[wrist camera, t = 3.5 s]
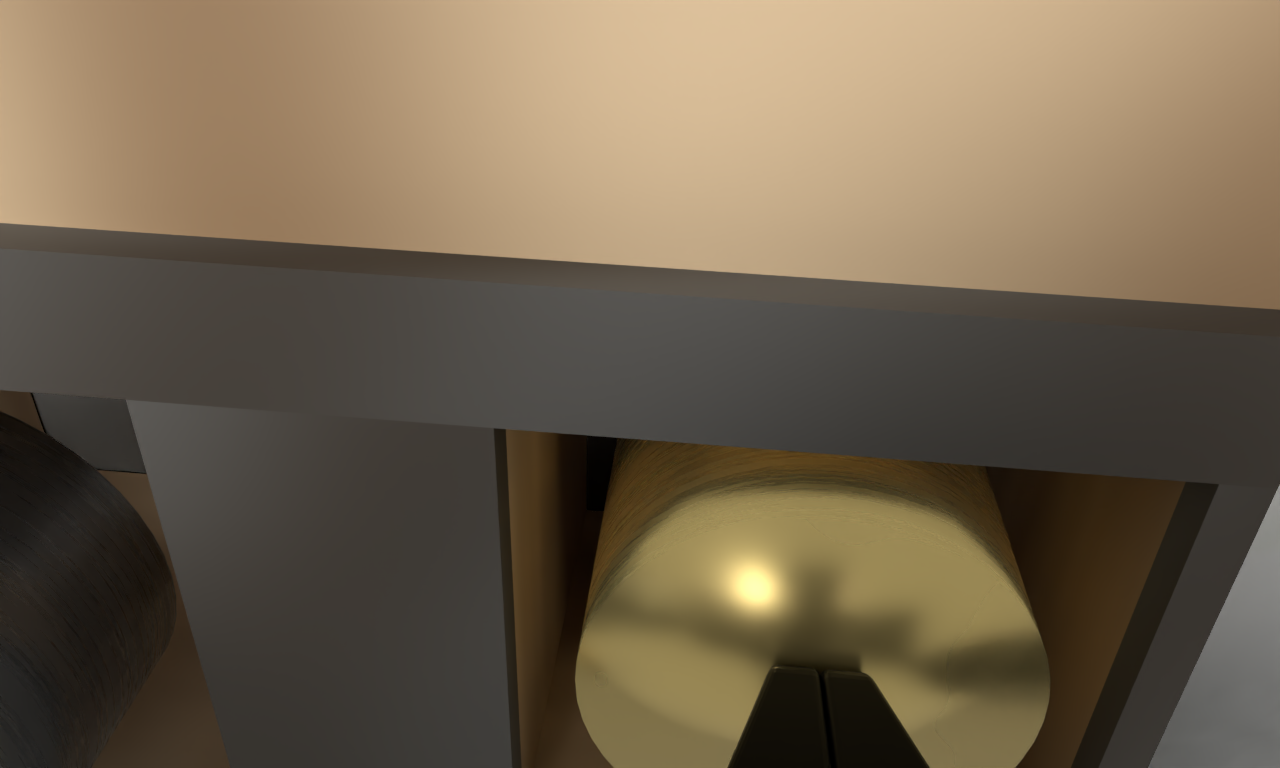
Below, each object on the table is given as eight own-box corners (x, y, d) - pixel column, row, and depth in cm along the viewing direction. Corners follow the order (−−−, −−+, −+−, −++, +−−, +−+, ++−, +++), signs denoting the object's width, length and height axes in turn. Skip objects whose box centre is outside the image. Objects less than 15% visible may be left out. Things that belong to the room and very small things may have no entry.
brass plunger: (983, 262, 12) (1109, 543, 8) (920, 531, 14) (992, 861, 10) (632, 238, 12) (574, 500, 8) (624, 507, 14) (575, 820, 10)
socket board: (1161, -132, 10) (1514, -20, 5) (933, 703, 16) (1005, 1074, 12) (-206, -192, 11) (-907, -140, 6) (88, 627, 17) (-149, 947, 13)
